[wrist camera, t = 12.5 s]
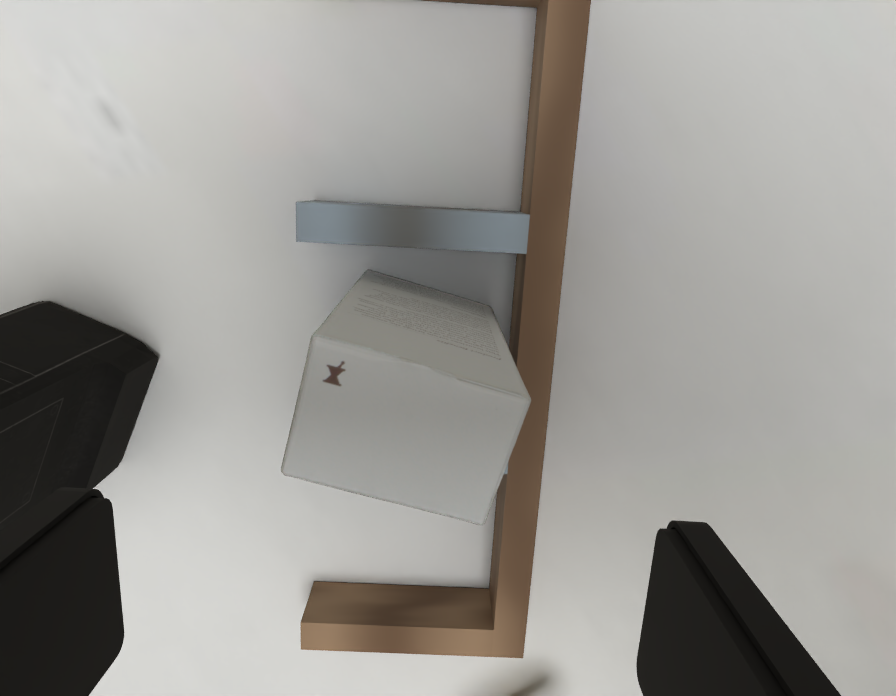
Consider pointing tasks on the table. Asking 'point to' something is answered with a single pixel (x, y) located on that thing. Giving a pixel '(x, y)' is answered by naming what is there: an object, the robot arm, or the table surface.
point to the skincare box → (408, 400)
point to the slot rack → (531, 345)
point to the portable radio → (64, 402)
